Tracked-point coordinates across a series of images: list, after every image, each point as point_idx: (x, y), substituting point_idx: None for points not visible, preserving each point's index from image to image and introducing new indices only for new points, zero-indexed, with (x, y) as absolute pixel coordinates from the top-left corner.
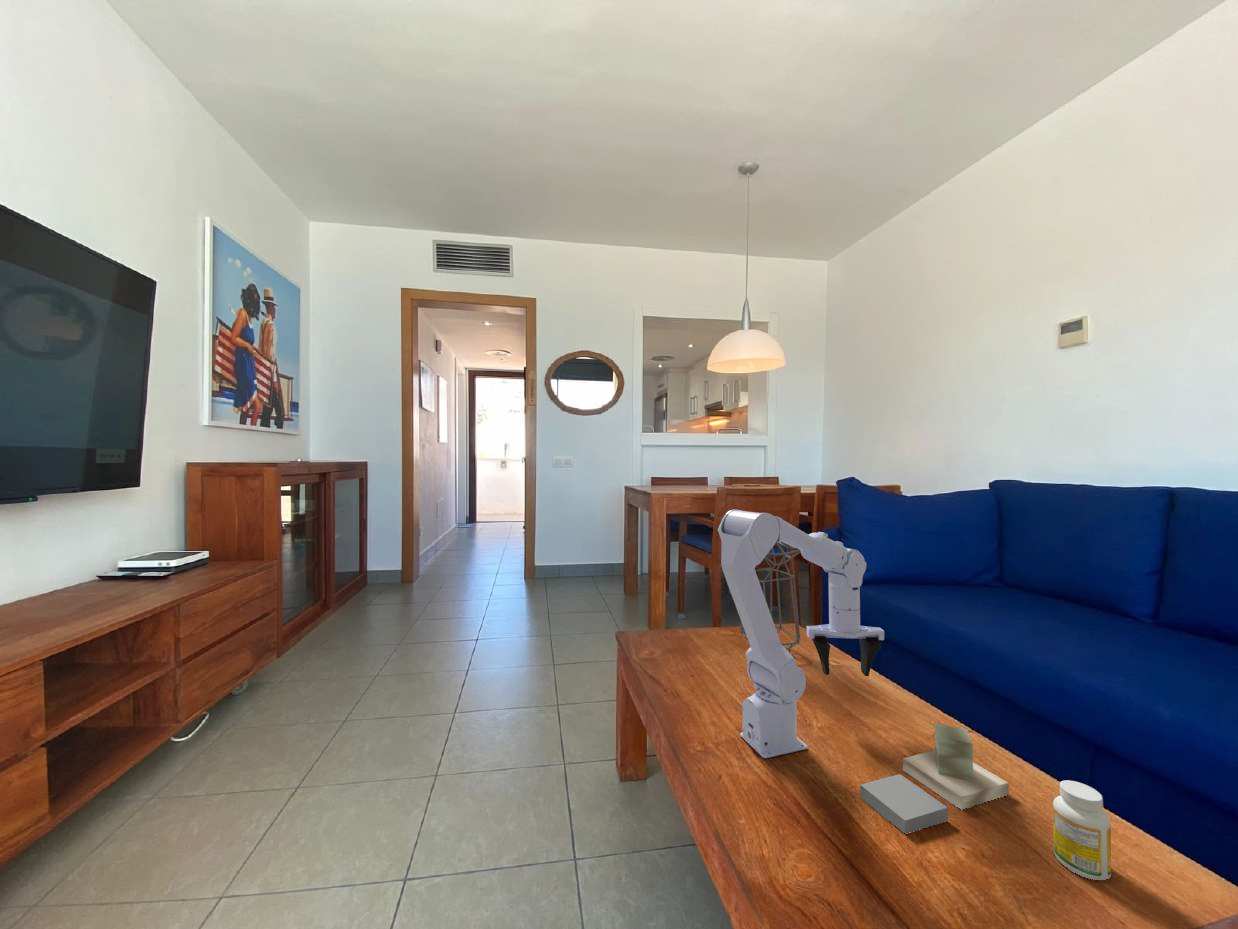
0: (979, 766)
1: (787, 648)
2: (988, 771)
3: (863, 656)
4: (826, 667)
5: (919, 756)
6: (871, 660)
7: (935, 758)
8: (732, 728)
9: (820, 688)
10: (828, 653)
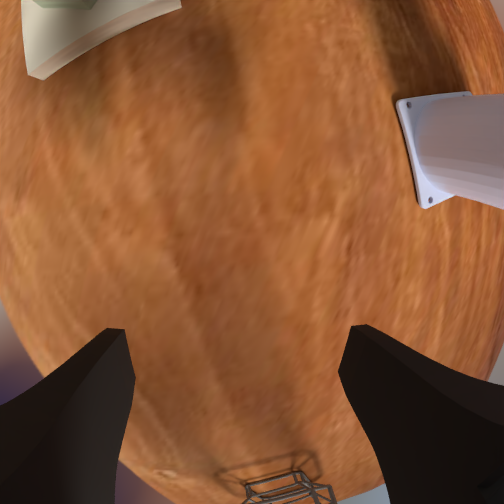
0: (23, 17)
1: (255, 495)
2: (22, 6)
3: (100, 448)
4: (395, 343)
5: (124, 7)
6: (42, 390)
7: (93, 1)
8: (485, 207)
9: (232, 407)
10: (462, 400)
